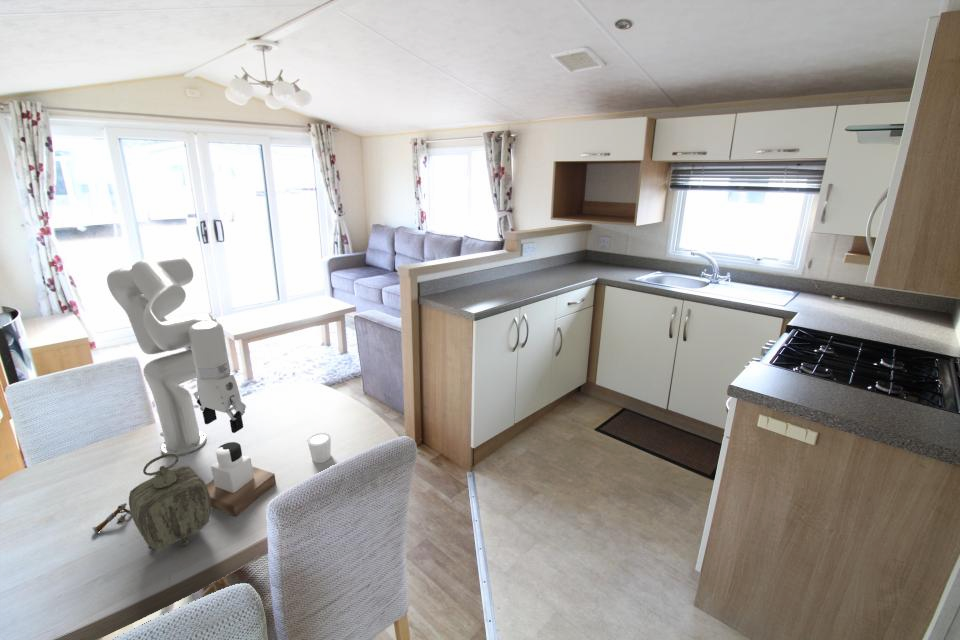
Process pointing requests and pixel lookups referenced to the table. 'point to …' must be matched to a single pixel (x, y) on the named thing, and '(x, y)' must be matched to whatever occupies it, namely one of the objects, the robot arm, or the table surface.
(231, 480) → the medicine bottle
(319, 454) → the white cup
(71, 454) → the table surface
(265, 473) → the block
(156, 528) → the camouflage pouch
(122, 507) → the wooden post with brackets
